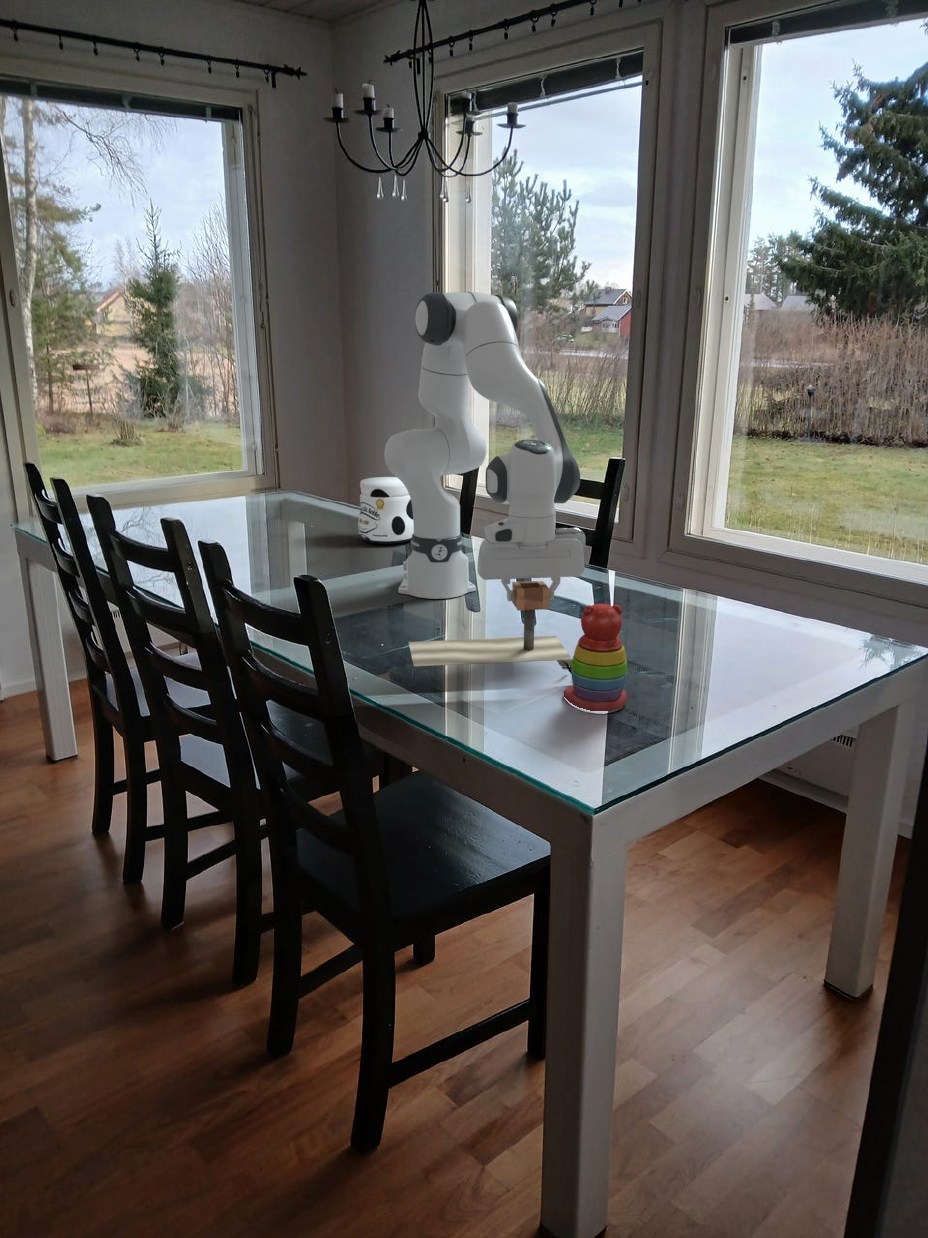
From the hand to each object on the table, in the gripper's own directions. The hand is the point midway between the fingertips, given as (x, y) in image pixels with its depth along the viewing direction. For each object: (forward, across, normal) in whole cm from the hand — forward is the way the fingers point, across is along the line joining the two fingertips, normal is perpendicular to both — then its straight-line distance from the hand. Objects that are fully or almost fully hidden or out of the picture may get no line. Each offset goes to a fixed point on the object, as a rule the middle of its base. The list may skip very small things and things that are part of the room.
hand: (530, 599), depth 181 cm
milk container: (+11, +22, -105) cm, 108 cm away
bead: (+1, 0, 0) cm, 1 cm away
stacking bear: (+12, -7, +25) cm, 29 cm away
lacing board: (+11, +8, 0) cm, 14 cm away
